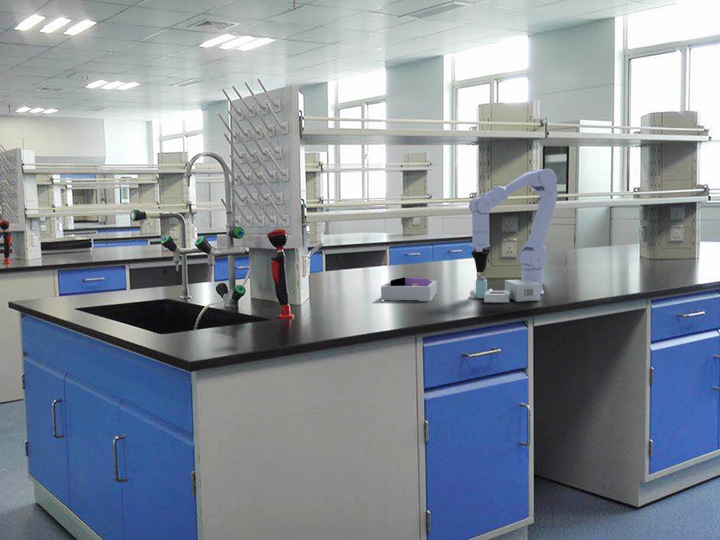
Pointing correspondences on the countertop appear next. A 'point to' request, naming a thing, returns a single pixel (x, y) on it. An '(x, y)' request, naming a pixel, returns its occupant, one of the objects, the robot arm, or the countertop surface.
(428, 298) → the holder corral
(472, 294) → the holster
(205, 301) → the countertop surface
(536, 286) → the skincare box
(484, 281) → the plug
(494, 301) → the port
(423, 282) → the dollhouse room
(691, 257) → the countertop surface
